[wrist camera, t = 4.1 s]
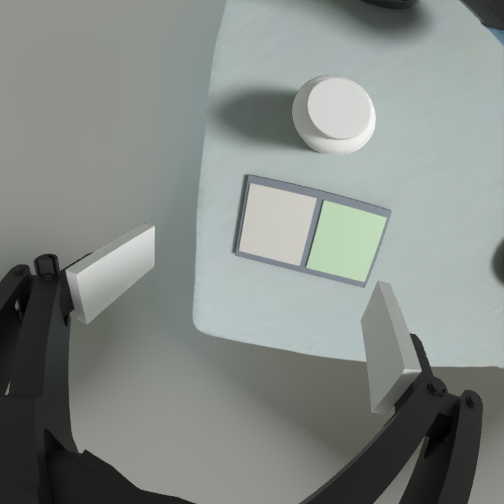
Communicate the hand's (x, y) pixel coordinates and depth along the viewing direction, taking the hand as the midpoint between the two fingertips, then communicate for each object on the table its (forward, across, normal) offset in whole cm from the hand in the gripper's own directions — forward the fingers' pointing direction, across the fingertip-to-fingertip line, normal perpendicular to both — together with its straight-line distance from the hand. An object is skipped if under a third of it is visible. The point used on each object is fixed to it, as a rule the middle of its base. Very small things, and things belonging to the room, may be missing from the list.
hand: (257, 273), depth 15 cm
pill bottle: (+24, +3, +10) cm, 26 cm away
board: (+24, +4, -5) cm, 24 cm away
